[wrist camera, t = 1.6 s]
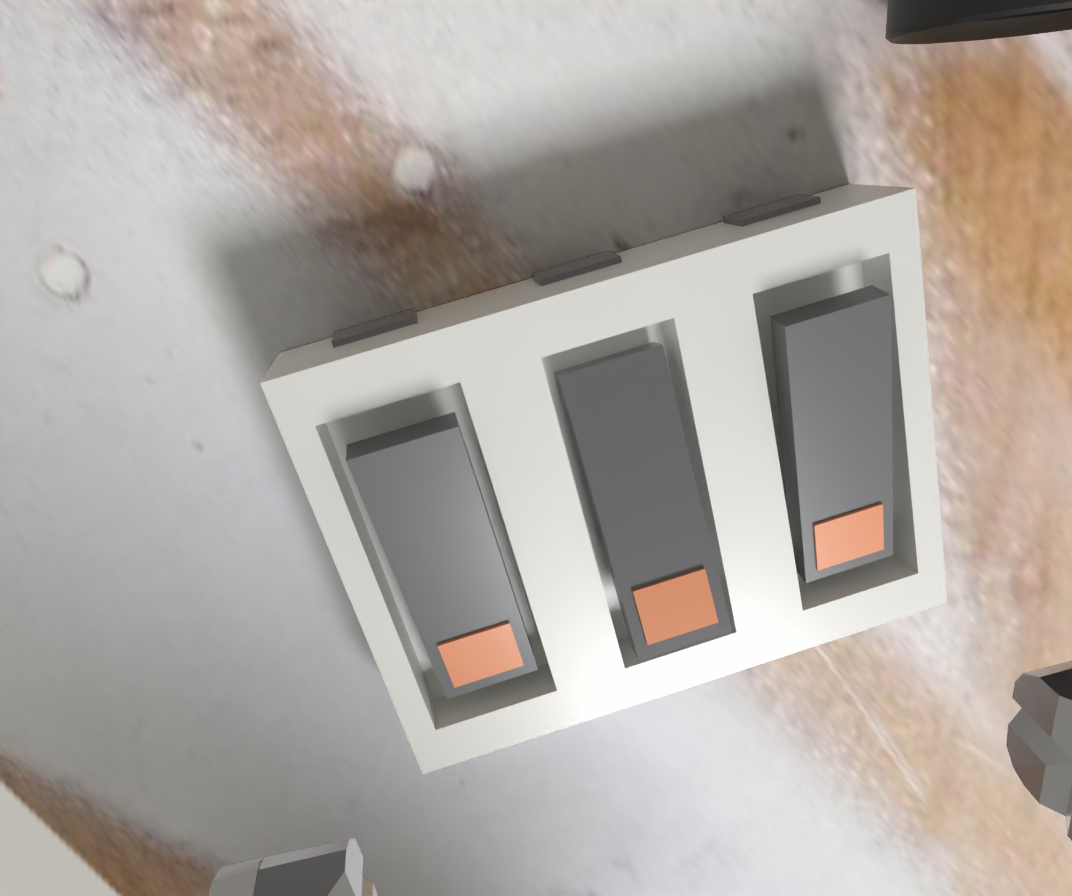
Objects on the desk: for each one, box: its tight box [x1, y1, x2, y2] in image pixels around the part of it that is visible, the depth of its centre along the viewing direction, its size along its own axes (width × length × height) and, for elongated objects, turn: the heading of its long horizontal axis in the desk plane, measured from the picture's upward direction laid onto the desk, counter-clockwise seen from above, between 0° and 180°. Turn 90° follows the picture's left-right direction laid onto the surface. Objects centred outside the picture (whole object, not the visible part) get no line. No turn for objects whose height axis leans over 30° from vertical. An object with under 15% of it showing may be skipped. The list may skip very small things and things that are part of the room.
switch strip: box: [260, 184, 947, 775], centre depth 33 cm, size 18×24×4 cm
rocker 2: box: [770, 285, 893, 583], centre depth 31 cm, size 12×4×1 cm, turn 15°
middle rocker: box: [554, 342, 732, 660], centre depth 31 cm, size 12×4×1 cm, turn 15°
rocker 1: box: [346, 412, 538, 699], centre depth 31 cm, size 12×4×1 cm, turn 15°
